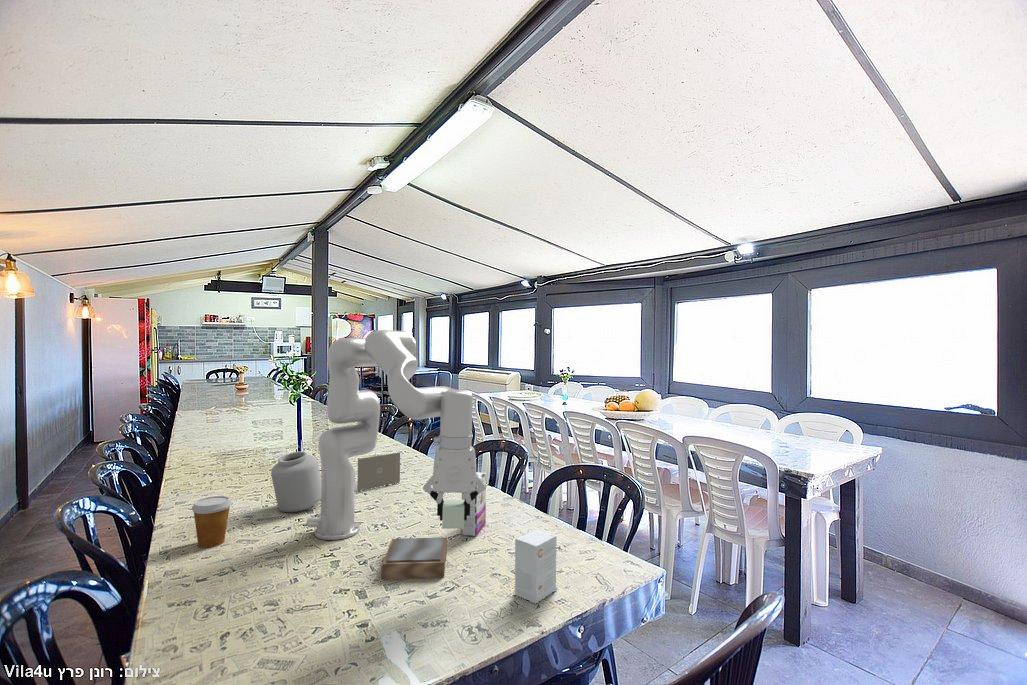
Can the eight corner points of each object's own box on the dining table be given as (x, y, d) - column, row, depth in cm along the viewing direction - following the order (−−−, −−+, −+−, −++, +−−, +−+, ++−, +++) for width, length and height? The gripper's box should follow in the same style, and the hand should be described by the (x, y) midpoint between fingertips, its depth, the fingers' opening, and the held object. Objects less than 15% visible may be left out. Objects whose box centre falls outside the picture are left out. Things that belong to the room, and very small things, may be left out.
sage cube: (442, 528, 108) (442, 507, 108) (443, 520, 113) (443, 499, 113) (463, 528, 109) (464, 507, 109) (464, 520, 114) (464, 499, 114)
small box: (535, 581, 114) (536, 528, 114) (556, 590, 110) (557, 535, 110) (513, 594, 108) (514, 538, 108) (535, 605, 104) (536, 546, 104)
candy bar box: (471, 522, 151) (471, 471, 151) (486, 523, 150) (486, 472, 150) (460, 535, 140) (461, 480, 140) (476, 537, 139) (477, 482, 139)
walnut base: (381, 579, 114) (382, 562, 114) (391, 551, 129) (392, 537, 129) (444, 577, 115) (444, 561, 115) (446, 550, 130) (447, 536, 130)
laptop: (386, 477, 201) (386, 446, 201) (400, 484, 191) (400, 452, 191) (344, 485, 189) (345, 453, 189) (357, 493, 179) (358, 459, 179)
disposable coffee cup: (226, 533, 139) (226, 493, 139) (235, 543, 132) (235, 501, 132) (187, 542, 132) (188, 500, 132) (194, 553, 126) (195, 509, 126)
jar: (277, 522, 148) (279, 443, 149) (255, 511, 157) (257, 437, 157) (331, 506, 164) (333, 434, 164) (309, 497, 172) (310, 429, 173)
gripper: (417, 445, 107) (415, 525, 107) (492, 446, 108) (489, 524, 108) (421, 438, 114) (418, 512, 114) (490, 439, 116) (488, 512, 116)
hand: (453, 517), depth 111 cm, fingers closed on sage cube, 5 cm apart
